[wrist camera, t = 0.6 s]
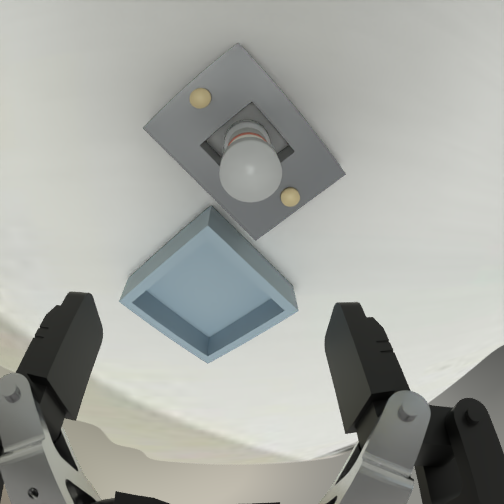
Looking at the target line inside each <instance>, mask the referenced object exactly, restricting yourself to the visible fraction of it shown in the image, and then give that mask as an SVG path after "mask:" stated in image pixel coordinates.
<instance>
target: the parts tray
mask: <svg viewBox="0 0 504 504" xmlns="http://www.w3.org/2000/svg"><path fill="white" fill-rule="evenodd" d="M119 302H120V303H122V304H123V305H124V306H126V307H127V308H128V309H130V310H131V311H132V312H134V313H135V314H136V315H138V316H139V317H140V318H142V319H143V320H145V321H146V322H147V323H149V324H150V325H151V326H153V327H154V328H156V329H157V330H158V331H160V332H161V333H163V334H164V335H166V336H167V337H168V338H170V339H171V340H173V341H174V342H176V343H177V344H179V345H180V346H182V347H183V348H185V349H186V350H188V351H189V352H191V353H192V354H194V355H195V356H197V357H198V358H200V359H201V360H203V361H205V362H206V363H210V362H212V361H214V360H215V359H217V358H219V357H221V356H223V355H224V354H226V353H228V352H230V351H231V350H233V349H235V348H237V347H239V346H240V345H242V344H244V343H245V342H247V341H249V340H251V339H252V338H254V337H256V336H258V335H259V334H261V333H263V332H264V331H266V330H268V329H269V328H271V327H273V326H274V325H276V324H278V323H279V322H281V321H283V320H284V319H286V318H288V317H289V316H291V315H293V314H294V313H296V312H297V311H298V307H297V302H296V298H295V293H294V289H293V286H292V285H291V284H290V283H289V282H288V281H287V280H286V279H285V278H284V277H283V276H282V275H281V274H280V273H279V272H278V271H277V270H276V269H275V268H274V267H273V266H272V265H271V264H270V263H269V262H268V261H267V260H266V259H265V258H264V257H263V256H262V255H261V254H260V253H259V252H258V251H257V250H256V249H255V248H254V247H253V246H252V245H251V244H250V243H249V242H248V241H247V240H246V239H245V238H244V237H243V236H242V235H241V234H240V233H239V232H238V231H237V230H236V229H235V228H234V227H233V226H232V225H231V224H230V223H229V222H228V221H227V220H226V219H225V218H224V217H223V216H222V215H221V214H220V213H219V212H218V211H217V210H216V209H214V208H213V207H212V206H210V207H208V208H207V209H206V210H205V211H204V212H203V213H201V214H200V215H199V216H198V217H197V218H195V219H194V220H193V221H192V222H191V223H190V224H188V225H187V226H186V227H185V228H184V229H183V230H182V231H180V232H179V233H178V234H177V235H176V236H175V237H173V238H172V239H171V240H170V241H169V242H168V243H167V244H166V245H164V246H163V247H162V248H161V249H160V250H159V251H158V252H157V253H155V254H154V255H153V256H152V257H151V258H150V259H149V260H148V261H147V262H145V263H144V264H143V265H142V266H141V267H140V268H139V269H138V270H137V271H136V272H134V273H133V274H132V275H131V276H130V277H129V278H128V281H127V283H126V285H125V288H124V290H123V293H122V295H121V298H120V300H119Z"/></svg>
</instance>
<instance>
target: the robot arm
mask: <svg viewBox="0 0 504 504" xmlns="http://www.w3.org/2000/svg"><path fill="white" fill-rule="evenodd" d="M102 339H103V328H102V324H101V321H100V318H99V315H98V312H97V308H96V305H95V302H94V298H93V296H92V294H90V293H83V292H69V293H68V294H67V296H66V297H65V299H64V301H63V303H62V304H61V306H60V305H56V306H55V307H54V308H53V309H52V310H51V311H50V312H49V313H48V314H46V316H45V318H44V319H43V321H42V323H41V325H40V328H38V330H37V332H36V334H35V338H33V340H32V341H31V343H30V345H29V347H28V349H27V351H26V353H25V355H24V357H23V359H22V361H21V363H20V365H19V367H18V369H17V371H16V373H10V374H7V375H5V376H3V377H2V378H0V501H1V496H2V490H3V485H4V484H5V487H6V490H7V493H8V496H9V498H10V501H11V504H169V503H166V502H164V501H161V500H158V499H155V498H151V497H144V496H138V495H132V494H127V493H121V492H117V491H116V493H115V498H111V499H105V500H101V498H100V496H99V495H98V493H97V491H96V490H95V488H94V487H93V486H92V484H91V483H90V482H89V481H88V479H87V478H86V476H85V475H84V473H83V471H82V469H81V467H80V465H79V463H78V460H77V458H76V456H75V454H74V452H73V449H72V447H71V445H70V443H69V440H68V438H67V436H66V433H65V431H64V429H63V427H62V424H63V420H64V418H66V419H71V420H76V418H77V415H78V412H79V408H80V405H81V402H82V399H83V396H84V393H85V389H86V386H87V383H88V380H89V377H90V374H91V371H92V369H93V366H94V363H95V360H96V357H97V354H98V352H99V349H100V346H101V343H102ZM325 353H326V357H327V360H328V364H329V368H330V372H331V376H332V380H333V384H334V388H335V392H336V396H337V400H338V404H339V409H340V413H341V417H342V421H343V426H344V430H345V434H347V433H354V432H357V435H358V439H359V440H358V441H357V443H356V445H355V447H354V448H353V450H352V452H351V454H350V456H349V458H348V459H347V461H346V463H345V465H344V466H343V468H342V470H341V471H340V473H339V475H338V477H337V478H336V480H335V481H334V483H333V485H332V486H331V488H330V489H329V491H328V492H327V493H326V494H325V496H324V497H323V498H322V500H321V501H320V502H319V504H407V501H408V499H409V497H410V495H411V492H412V489H413V486H414V479H412V478H411V472H412V469H413V467H414V466H415V470H416V474H417V479H418V483H419V488H420V492H421V498H422V503H423V504H504V454H503V451H502V448H501V445H500V442H499V439H498V437H497V434H496V432H495V429H494V426H493V424H492V421H491V419H490V416H489V414H488V411H487V409H486V408H485V406H484V405H483V404H482V403H480V402H479V401H477V400H475V399H472V398H465V399H462V400H460V401H459V402H458V403H457V404H456V405H455V406H454V408H450V407H440V406H432V405H428V403H427V401H426V400H425V399H424V398H423V397H422V396H421V395H419V394H417V393H415V392H413V391H410V389H409V386H408V384H407V381H406V379H405V377H404V374H403V372H402V369H401V367H400V365H399V362H398V360H397V358H396V355H395V353H393V348H392V346H391V344H390V342H389V339H388V337H387V335H386V333H385V331H384V328H383V327H382V326H381V325H380V324H379V323H378V322H377V321H376V320H375V319H374V318H373V317H366V316H365V313H364V311H363V309H362V307H361V305H360V303H358V302H343V303H336V304H335V306H334V309H333V312H332V315H331V319H330V322H329V325H328V329H327V332H326V335H325ZM256 504H280V502H278V503H256Z"/></svg>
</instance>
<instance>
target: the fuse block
mask: <svg viewBox="0 0 504 504" xmlns="http://www.w3.org/2000/svg"><path fill="white" fill-rule="evenodd" d="M250 102H253V103H254V104H255V105H256V107H257V108H258V109H259V110H260V111H261V112H262V113H263V114H264V116H265V117H266V118H267V119H268V120H269V121H270V123H271V124H272V125H273V126H274V127H275V128H276V130H277V131H278V132H279V133H280V134H281V136H282V137H283V138H284V139H285V140H286V142H287V143H288V144H289V146H288V147H287V148H285V149H284V150H283V151H281V152H280V153H279V154H278V155H277V156H278V159H279V161H280V163H281V167H282V179H281V182H280V185H279V186H278V188H277V190H276V191H275V192H274V193H273V194H272V195H271V196H269V197H268V198H266V199H264V200H261V201H258V202H243V201H239V200H237V199H235V198H233V197H232V196H230V195H229V194H228V193H227V192H226V191H225V189H224V188H223V186H222V184H221V181H220V174H219V172H220V165H221V159H222V158H221V157H220V156H219V155H218V154H217V153H216V152H215V151H214V150H213V149H212V148H211V147H210V146H209V145H208V144H207V143H206V142H205V140H206V139H207V138H209V137H210V136H211V135H212V134H213V133H214V132H215V131H217V130H218V129H219V128H220V127H221V126H222V125H224V124H225V123H226V122H227V121H228V120H230V119H231V118H232V117H233V116H234V115H236V114H237V113H238V112H239V111H240V110H242V109H243V108H244V107H245V106H247V105H248V104H249V103H250ZM143 129H144V130H145V131H146V132H147V133H148V134H149V135H150V136H151V137H152V138H153V139H154V140H155V141H156V142H157V143H158V144H159V145H160V146H161V147H162V148H163V149H164V150H165V151H166V152H167V153H168V154H169V155H170V156H172V157H173V158H174V159H175V160H176V161H177V162H178V163H179V164H180V165H181V166H182V167H183V168H184V169H185V170H186V171H187V172H188V173H189V174H190V175H191V176H192V177H193V178H194V179H195V180H196V181H197V182H198V183H199V184H200V185H201V186H202V187H203V188H204V189H205V190H206V191H207V192H208V193H209V194H210V195H211V196H212V197H213V198H214V199H215V200H216V201H217V202H218V203H219V204H220V205H221V206H222V207H223V208H224V209H225V210H226V211H227V212H228V213H229V214H230V215H231V216H232V217H233V218H234V219H235V220H236V221H237V222H238V223H239V224H240V225H241V226H242V227H243V228H244V229H245V230H246V231H247V232H248V233H249V234H250V235H251V236H252V237H253V238H254V239H255V240H257V239H259V238H260V237H261V236H263V235H264V234H265V233H267V232H268V231H269V230H271V229H272V228H273V227H275V226H276V225H278V224H279V223H280V222H282V221H283V220H284V219H286V218H287V217H288V216H290V215H291V214H292V213H294V212H295V211H297V210H298V209H299V208H301V207H302V206H303V205H305V204H306V203H307V202H309V201H310V200H311V199H313V198H314V197H316V196H317V195H318V194H320V193H321V192H322V191H324V190H325V189H326V188H328V187H329V186H331V185H332V184H333V183H335V182H336V181H337V180H339V179H340V178H341V177H343V176H344V175H346V174H345V172H344V171H343V169H342V168H341V166H340V165H339V164H338V162H337V161H336V159H335V158H334V157H333V155H332V154H331V153H330V151H329V150H328V149H327V147H326V146H325V145H324V143H323V142H322V141H321V139H320V138H319V137H318V135H317V134H316V133H315V131H314V130H313V129H312V127H311V126H310V125H309V124H308V122H307V121H306V120H305V119H304V117H303V116H302V115H301V114H300V112H299V111H298V110H297V109H296V107H295V106H294V105H293V104H292V103H291V101H290V100H289V99H288V98H287V96H286V95H285V94H284V93H283V92H282V91H281V89H280V88H279V87H278V86H277V85H276V84H275V82H274V81H273V80H272V79H271V78H270V77H269V75H268V74H267V73H266V72H265V71H264V70H263V69H262V68H261V66H260V65H259V64H258V63H257V62H256V61H255V60H254V59H253V58H252V57H251V56H250V54H249V53H248V52H247V51H246V50H245V49H244V48H243V47H242V46H241V45H240V44H239V43H237V44H236V45H234V46H233V47H232V48H230V49H229V50H228V51H227V52H225V53H224V54H223V55H222V56H220V57H219V58H218V59H217V60H216V61H214V62H213V63H212V64H211V65H210V66H208V67H207V68H206V69H205V70H204V71H203V72H201V73H200V74H199V75H198V76H197V77H196V78H194V79H193V80H192V81H191V82H190V83H189V84H188V85H187V86H186V87H184V88H183V89H182V90H181V91H180V92H179V93H178V94H177V95H176V96H175V97H174V98H173V99H172V100H170V101H169V102H168V103H167V104H166V105H165V106H164V107H163V108H162V109H161V110H160V111H159V112H158V113H157V114H156V115H155V116H154V117H153V118H152V119H151V120H150V121H149V122H148V123H147V124H146V125H145V126H144V127H143Z"/></svg>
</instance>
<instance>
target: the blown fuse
mask: <svg viewBox="0 0 504 504" xmlns="http://www.w3.org/2000/svg"><path fill="white" fill-rule="evenodd" d="M219 174H220V181H221V184H222V186H223V188H224V189H225V191H226V192H227V193H228V194H229V195H230V196H232V197H233V198H235V199H237V200H239V201H243V202H258V201H261V200H264V199H266V198H268V197H269V196H271V195H272V194H273V193H274V192H275V191H276V190H277V188H278V186H279V185H280V182H281V179H282V167H281V163H280V161H279V159H278V156H277V154H276V152H275V150H274V149H273V147H272V146H271V141H270V138H269V136H268V133H267V131H266V130H265V128H264V127H263V126H262V125H261V124H259V123H258V122H255V121H252V120H242V121H238V122H236V123H234V124H233V125H232V126H231V127H230V128H229V129H228V131H227V133H226V136H225V141H224V153H223V155H222V159H221V165H220V172H219Z"/></svg>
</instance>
